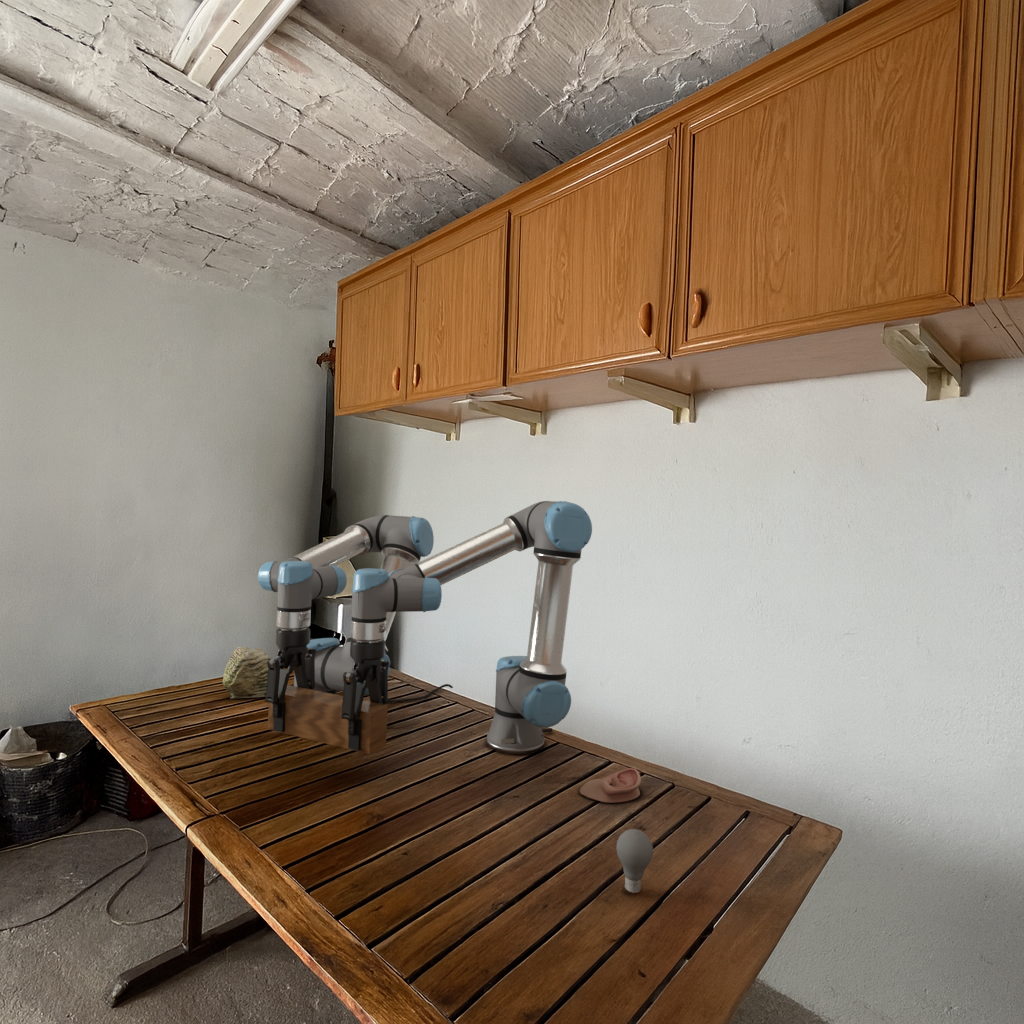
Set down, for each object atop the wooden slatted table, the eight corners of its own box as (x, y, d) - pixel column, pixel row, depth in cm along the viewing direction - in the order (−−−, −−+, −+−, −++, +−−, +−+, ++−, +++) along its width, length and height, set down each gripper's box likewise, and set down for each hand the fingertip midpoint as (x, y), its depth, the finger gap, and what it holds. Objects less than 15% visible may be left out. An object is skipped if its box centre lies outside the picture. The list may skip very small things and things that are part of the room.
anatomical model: (578, 780, 137) (583, 760, 149) (577, 799, 137) (582, 776, 149) (641, 789, 135) (641, 767, 146) (640, 807, 135) (640, 784, 146)
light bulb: (610, 879, 108) (613, 822, 108) (644, 879, 109) (647, 822, 109) (619, 902, 102) (622, 840, 102) (655, 901, 103) (658, 840, 103)
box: (267, 729, 147) (268, 691, 147) (286, 721, 152) (288, 684, 152) (369, 754, 135) (371, 713, 135) (386, 744, 141) (387, 705, 141)
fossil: (218, 695, 195) (220, 647, 195) (278, 685, 208) (279, 640, 207) (228, 703, 189) (230, 653, 188) (289, 692, 201) (290, 645, 201)
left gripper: (275, 637, 137) (271, 742, 138) (333, 623, 155) (329, 716, 155) (249, 633, 140) (245, 736, 141) (309, 619, 158) (305, 711, 158)
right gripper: (354, 650, 129) (350, 762, 129) (406, 633, 146) (402, 732, 147) (325, 645, 132) (321, 755, 132) (379, 629, 149) (375, 726, 150)
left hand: (289, 725), depth 148 cm, fingers closed on box, 6 cm apart
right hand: (364, 743), depth 140 cm, fingers closed on box, 6 cm apart
